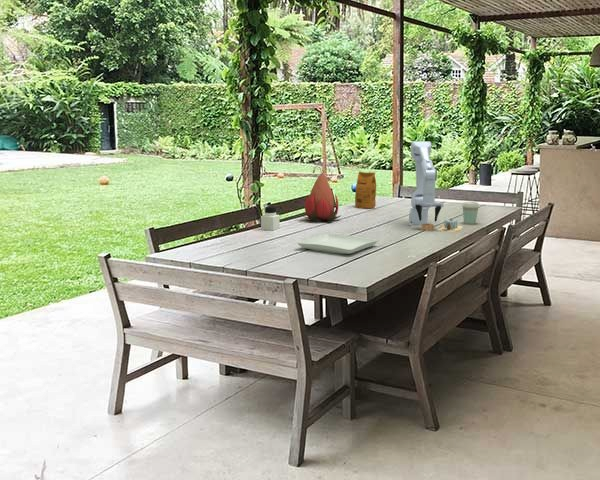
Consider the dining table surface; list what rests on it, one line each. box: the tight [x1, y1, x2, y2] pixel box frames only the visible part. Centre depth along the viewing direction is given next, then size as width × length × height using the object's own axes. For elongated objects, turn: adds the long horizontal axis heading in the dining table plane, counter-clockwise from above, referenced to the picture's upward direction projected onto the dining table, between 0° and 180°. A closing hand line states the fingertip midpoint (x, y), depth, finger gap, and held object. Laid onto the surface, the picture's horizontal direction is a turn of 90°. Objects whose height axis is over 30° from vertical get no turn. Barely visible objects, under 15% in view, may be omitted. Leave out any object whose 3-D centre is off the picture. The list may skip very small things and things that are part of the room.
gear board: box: [435, 223, 464, 233], centre depth 354 cm, size 11×18×4 cm, turn 159°
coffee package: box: [354, 171, 377, 210], centre depth 426 cm, size 10×12×22 cm
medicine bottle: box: [260, 204, 281, 232], centre depth 354 cm, size 7×7×12 cm
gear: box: [443, 217, 458, 229], centre depth 356 cm, size 6×6×4 cm
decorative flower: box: [303, 164, 342, 223], centre depth 380 cm, size 22×23×30 cm
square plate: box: [297, 233, 379, 255], centre depth 311 cm, size 27×27×4 cm
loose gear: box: [421, 222, 435, 231], centre depth 351 cm, size 6×6×4 cm
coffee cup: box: [462, 201, 480, 226], centre depth 367 cm, size 9×9×12 cm
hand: (427, 220), depth 350 cm, fingers open, 7 cm apart
